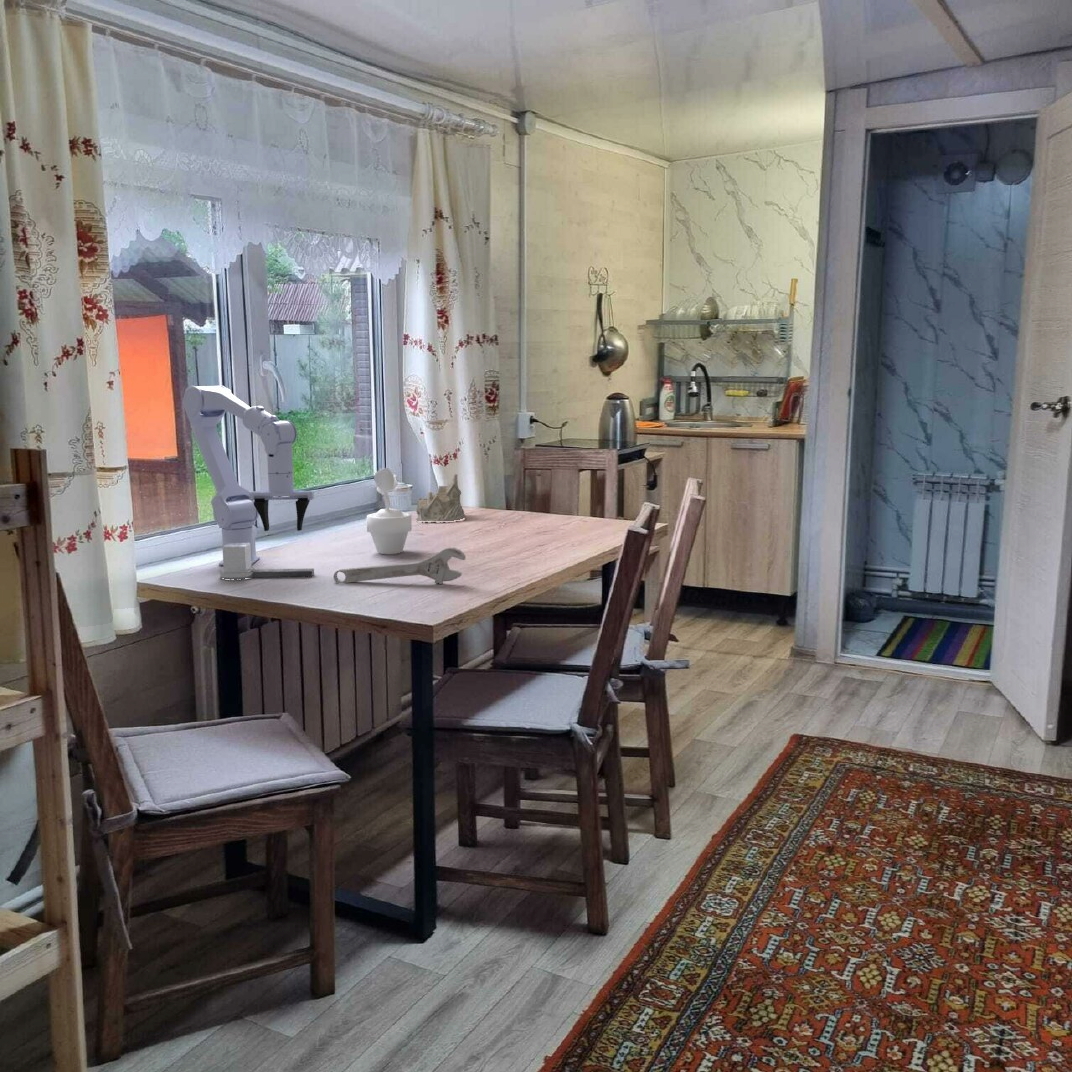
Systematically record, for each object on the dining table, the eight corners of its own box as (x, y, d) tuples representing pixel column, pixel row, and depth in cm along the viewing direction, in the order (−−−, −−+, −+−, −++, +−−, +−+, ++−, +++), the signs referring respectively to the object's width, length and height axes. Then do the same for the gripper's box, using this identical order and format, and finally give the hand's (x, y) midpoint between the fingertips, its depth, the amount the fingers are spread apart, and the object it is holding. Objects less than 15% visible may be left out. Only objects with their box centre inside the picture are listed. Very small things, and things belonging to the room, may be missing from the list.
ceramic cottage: (465, 514, 326) (461, 468, 323) (467, 524, 310) (463, 476, 307) (416, 518, 325) (412, 472, 321) (416, 528, 309) (411, 480, 305)
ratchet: (225, 573, 236) (224, 552, 235) (316, 572, 236) (315, 551, 236) (216, 581, 228) (214, 559, 227) (310, 579, 229) (309, 558, 228)
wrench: (338, 594, 227) (469, 581, 224) (336, 595, 226) (467, 583, 222) (333, 559, 226) (464, 545, 222) (330, 560, 224) (462, 547, 221)
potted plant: (404, 557, 254) (402, 458, 250) (360, 555, 257) (357, 457, 253) (420, 548, 267) (418, 453, 262) (378, 547, 269) (375, 453, 265)
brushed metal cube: (229, 568, 234) (228, 543, 233) (251, 568, 234) (250, 542, 233) (223, 573, 229) (222, 546, 228) (246, 572, 229) (244, 546, 228)
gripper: (245, 474, 232) (248, 533, 234) (308, 474, 233) (311, 532, 235) (252, 471, 239) (255, 528, 241) (314, 471, 239) (316, 527, 242)
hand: (283, 530), depth 238 cm, fingers open, 7 cm apart
